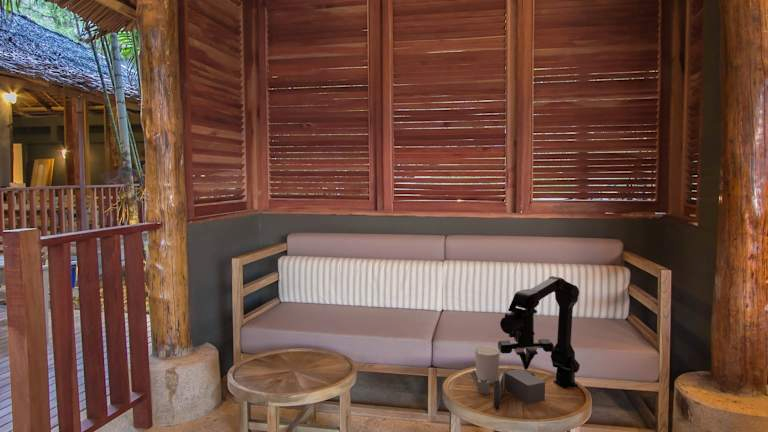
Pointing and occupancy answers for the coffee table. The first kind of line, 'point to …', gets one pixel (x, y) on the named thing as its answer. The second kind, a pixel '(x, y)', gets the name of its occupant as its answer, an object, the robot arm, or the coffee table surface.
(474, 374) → the lighter
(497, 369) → the candle holder
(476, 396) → the coffee table surface
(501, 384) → the side door
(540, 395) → the block
